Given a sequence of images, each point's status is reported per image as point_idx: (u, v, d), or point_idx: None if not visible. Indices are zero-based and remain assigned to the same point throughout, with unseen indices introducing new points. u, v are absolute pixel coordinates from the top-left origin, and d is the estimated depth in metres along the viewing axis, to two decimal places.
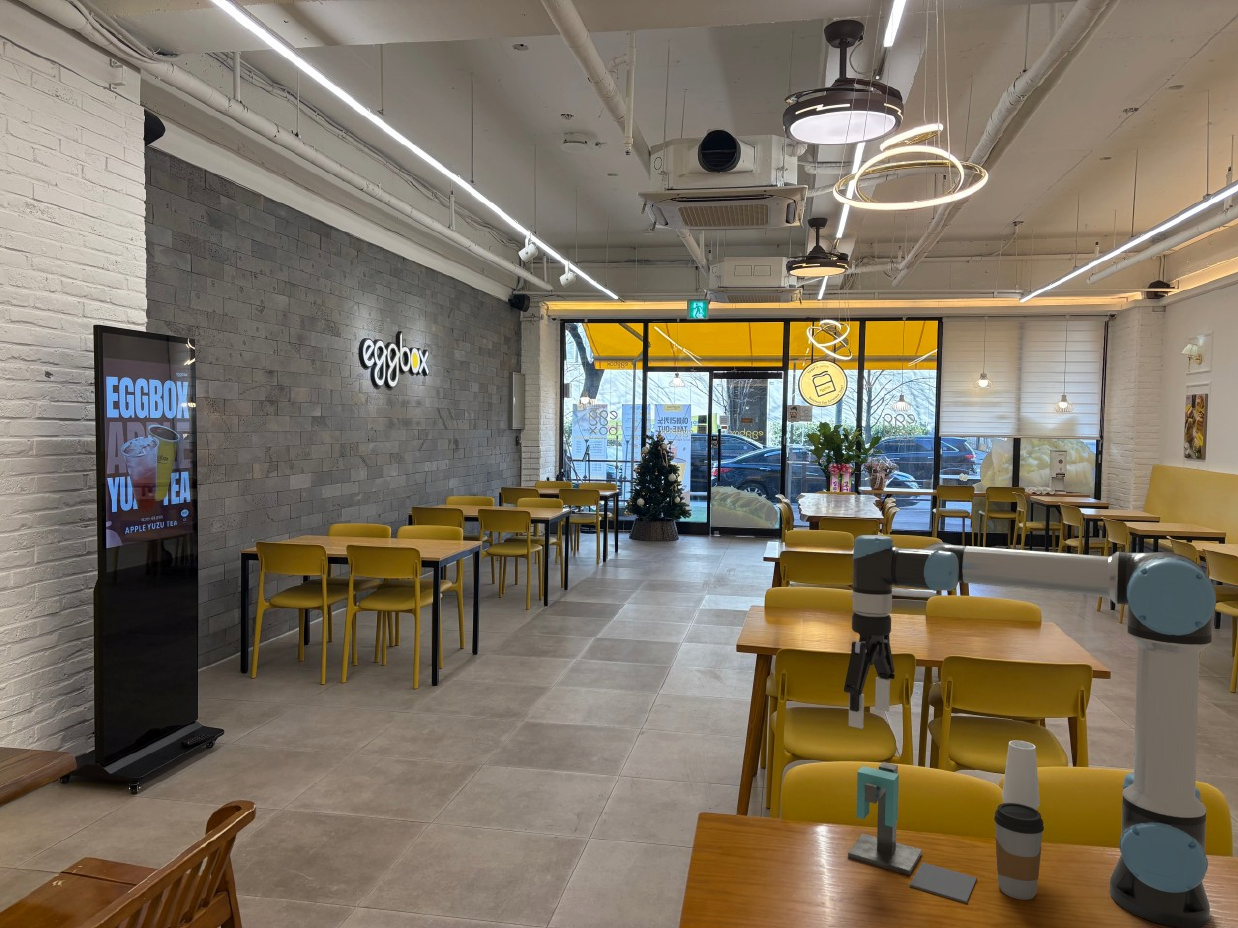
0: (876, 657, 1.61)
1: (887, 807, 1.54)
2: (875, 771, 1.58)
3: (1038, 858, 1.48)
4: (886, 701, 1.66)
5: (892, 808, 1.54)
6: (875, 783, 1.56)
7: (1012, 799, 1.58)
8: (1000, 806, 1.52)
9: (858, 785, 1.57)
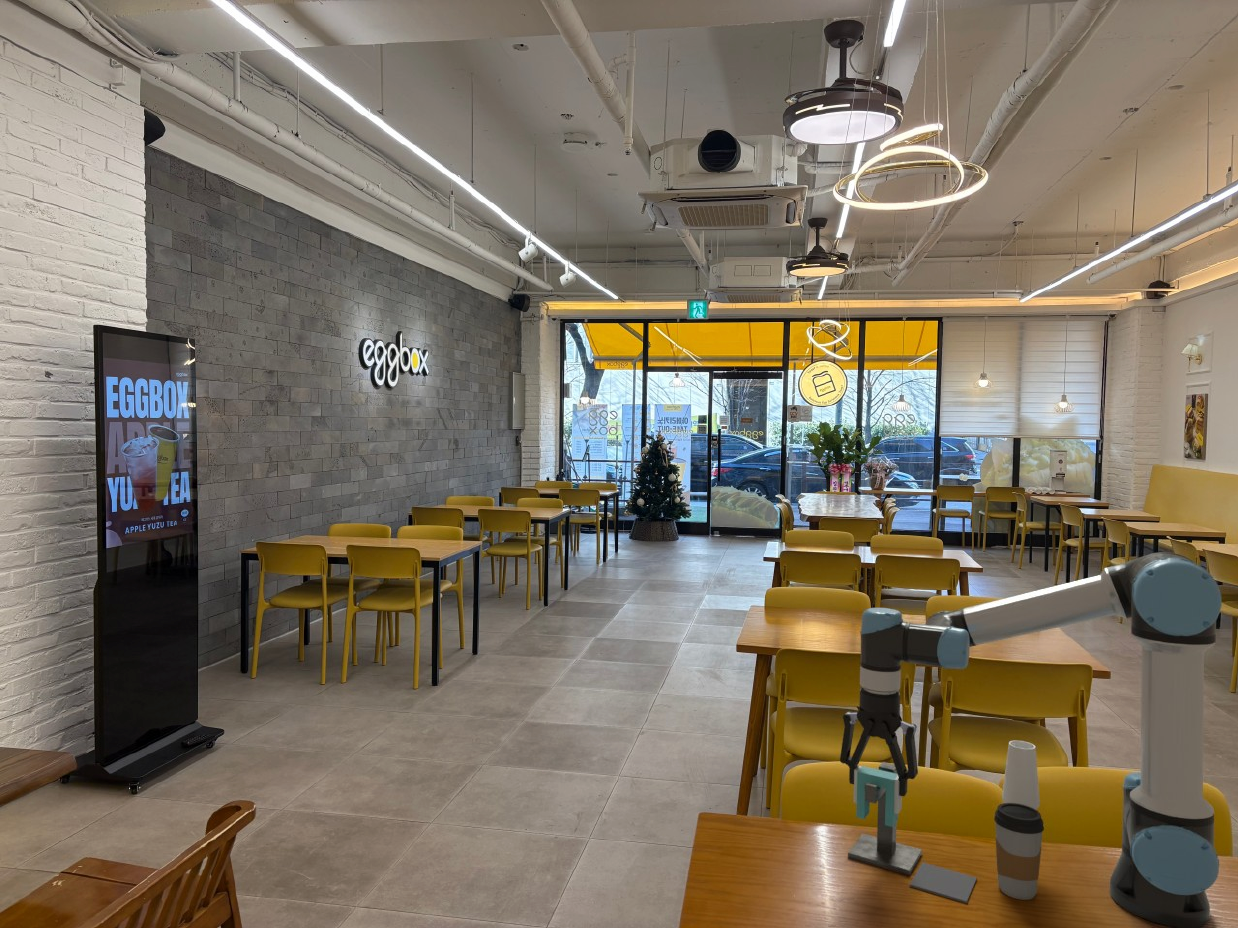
0: (879, 736, 1.56)
1: (887, 807, 1.54)
2: (875, 771, 1.58)
3: (1038, 858, 1.48)
4: None
5: (892, 808, 1.54)
6: (875, 783, 1.56)
7: (1012, 799, 1.58)
8: (1000, 806, 1.52)
9: (858, 785, 1.57)
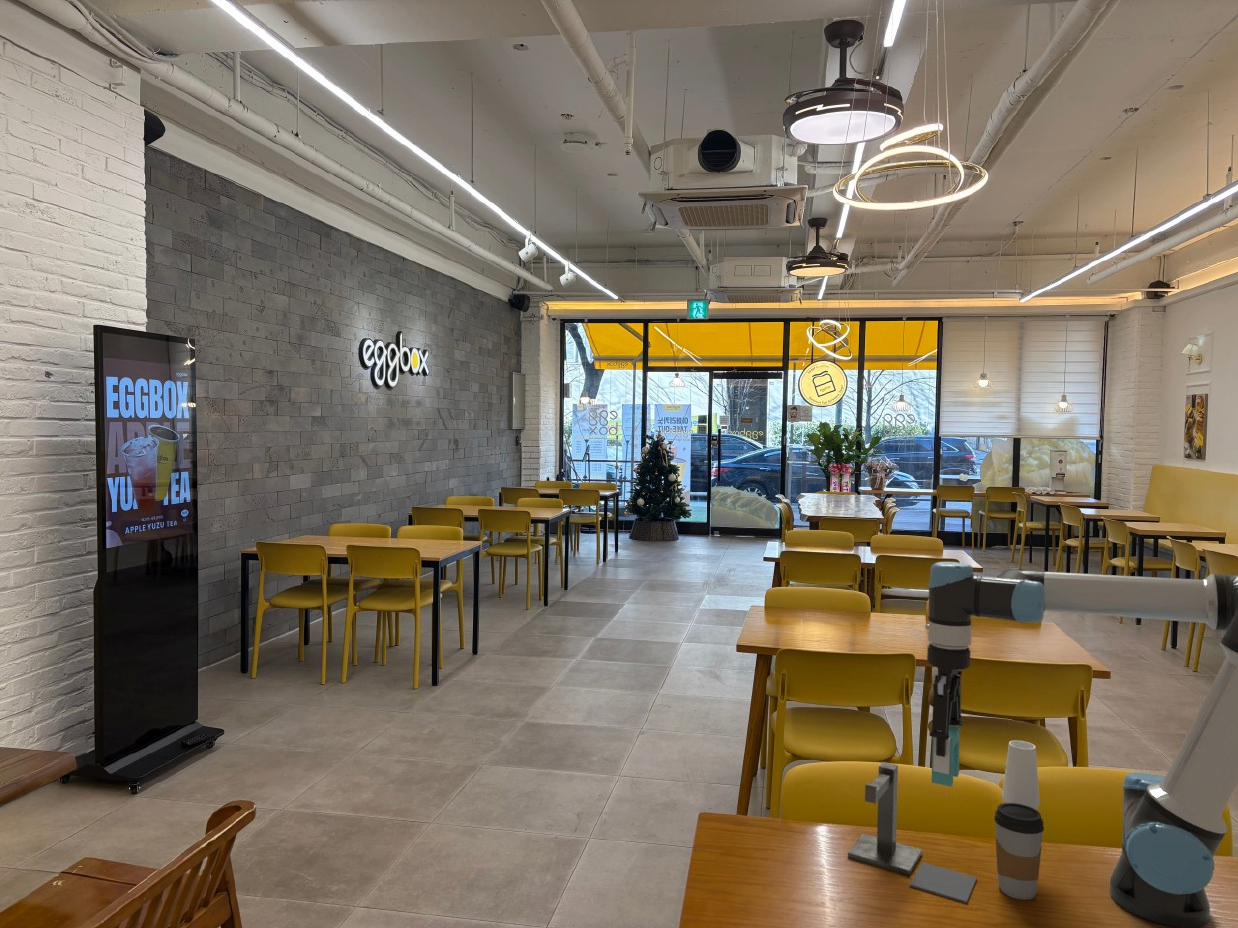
0: None
1: (958, 758, 1.54)
2: None
3: (1038, 858, 1.48)
4: None
5: (958, 756, 1.54)
6: (956, 740, 1.52)
7: (1012, 799, 1.58)
8: (1000, 806, 1.52)
9: (952, 752, 1.49)
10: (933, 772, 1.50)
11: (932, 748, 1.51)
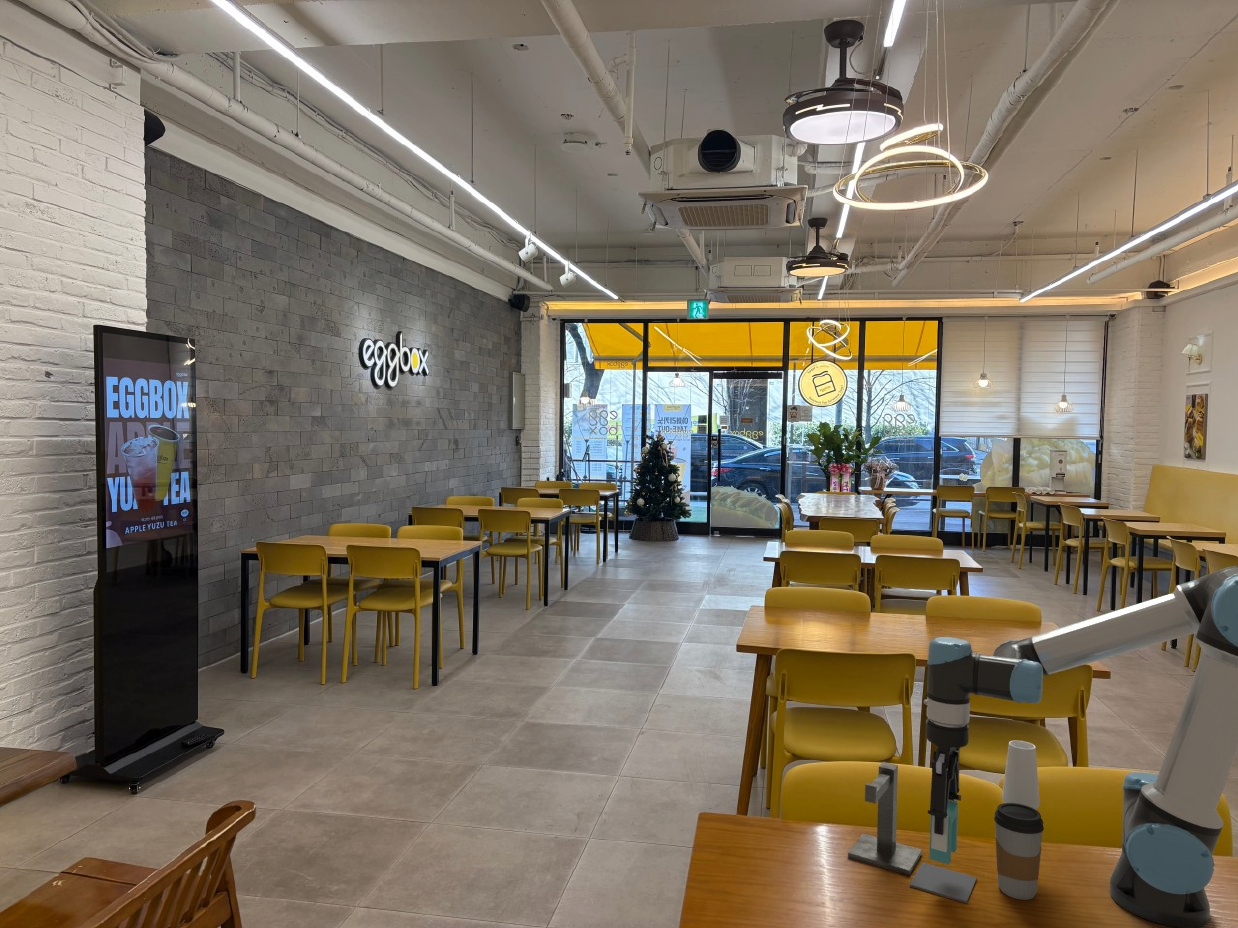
0: None
1: (956, 834, 1.54)
2: None
3: (1038, 858, 1.48)
4: None
5: (956, 831, 1.55)
6: (954, 817, 1.52)
7: (1012, 799, 1.58)
8: (1000, 806, 1.52)
9: (950, 830, 1.49)
10: (931, 849, 1.51)
11: (930, 825, 1.51)
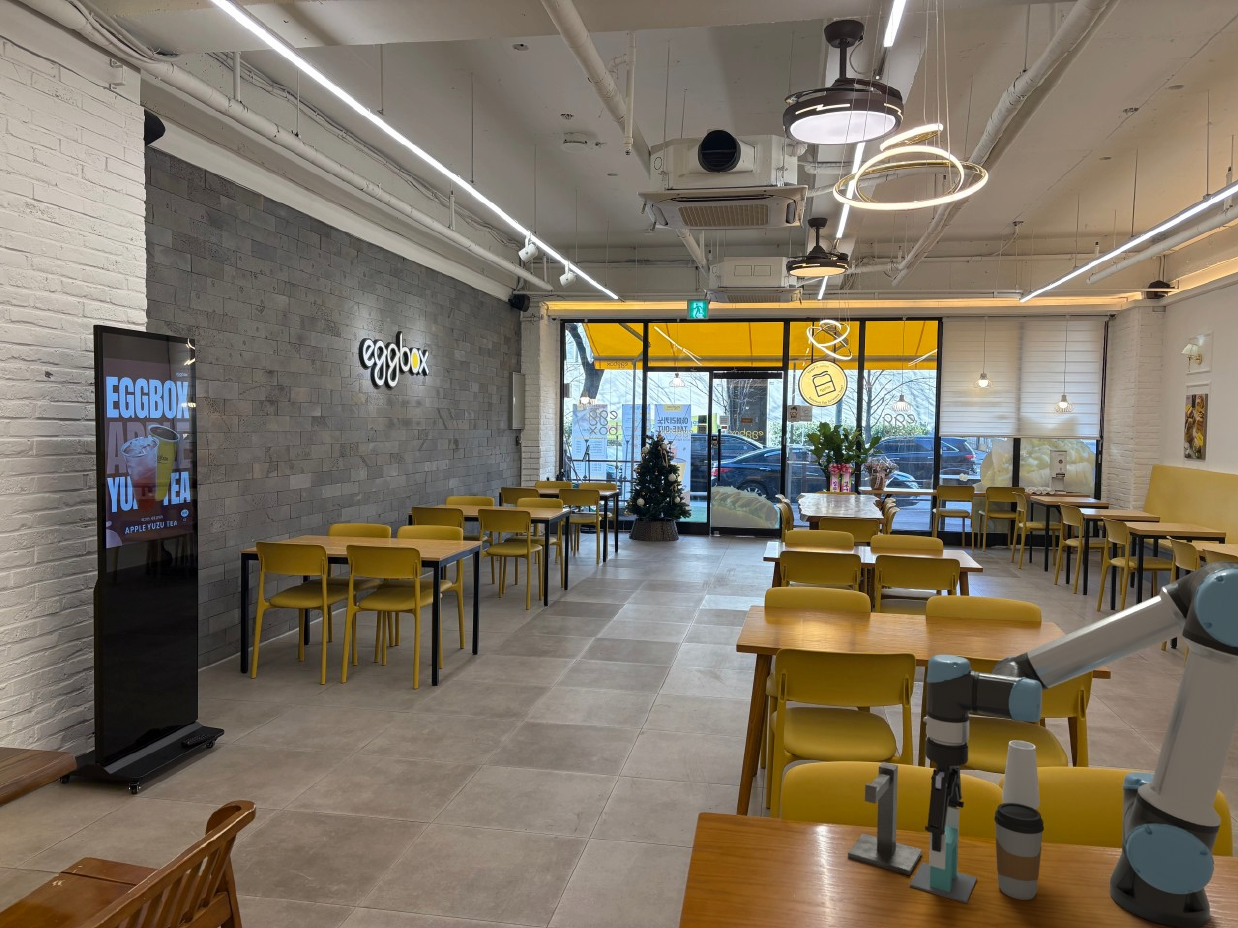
0: None
1: (956, 860, 1.54)
2: None
3: (1038, 858, 1.48)
4: None
5: (957, 857, 1.55)
6: (954, 843, 1.52)
7: (1012, 799, 1.58)
8: (1000, 806, 1.52)
9: (950, 857, 1.49)
10: (931, 876, 1.51)
11: None
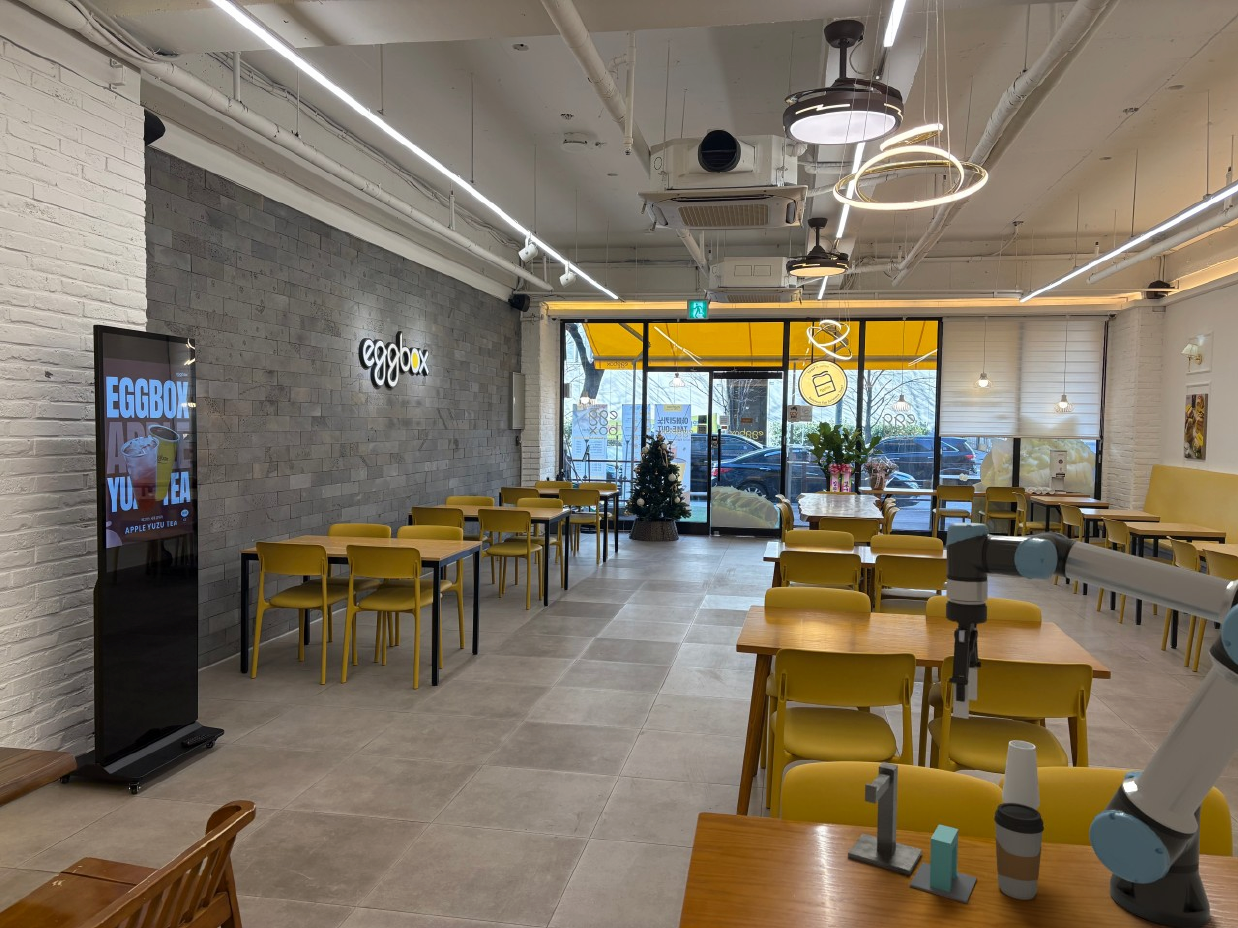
0: None
1: (956, 860, 1.54)
2: (942, 834, 1.52)
3: (1038, 858, 1.48)
4: (974, 690, 1.65)
5: (957, 857, 1.55)
6: (954, 843, 1.52)
7: (1012, 799, 1.58)
8: (1000, 806, 1.52)
9: (950, 857, 1.49)
10: (931, 876, 1.51)
11: None
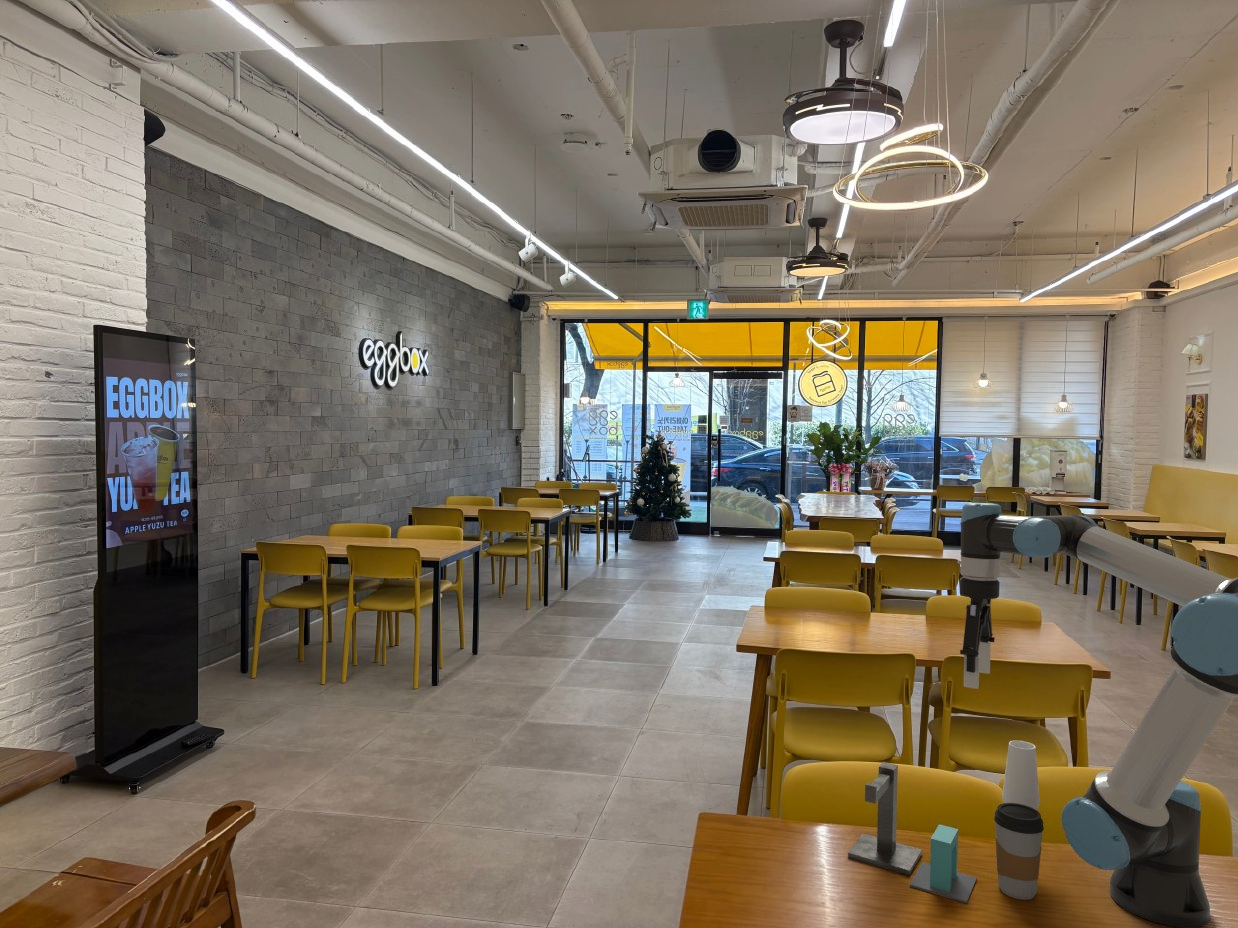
0: None
1: (956, 860, 1.54)
2: (942, 834, 1.52)
3: (1038, 858, 1.48)
4: (987, 663, 1.72)
5: (957, 857, 1.55)
6: (954, 843, 1.52)
7: (1012, 799, 1.58)
8: (1000, 806, 1.52)
9: (950, 857, 1.49)
10: (931, 876, 1.51)
11: None
